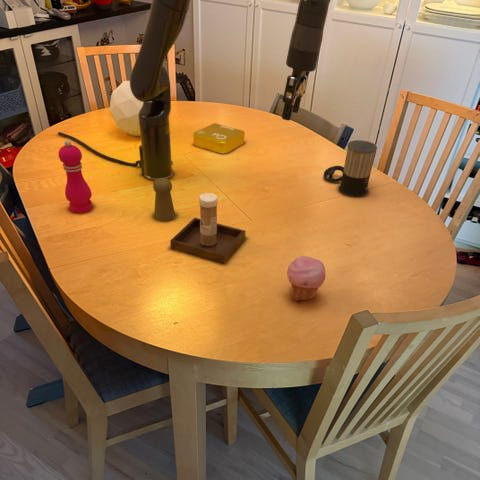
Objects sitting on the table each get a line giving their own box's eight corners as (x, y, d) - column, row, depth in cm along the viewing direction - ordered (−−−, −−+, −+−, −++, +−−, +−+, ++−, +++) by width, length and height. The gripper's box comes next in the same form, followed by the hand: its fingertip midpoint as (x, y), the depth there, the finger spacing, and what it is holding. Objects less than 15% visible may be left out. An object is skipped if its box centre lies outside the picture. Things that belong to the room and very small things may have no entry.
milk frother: (364, 199, 148) (375, 153, 138) (316, 190, 152) (323, 144, 142) (371, 181, 158) (381, 137, 148) (325, 173, 162) (332, 129, 152)
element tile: (246, 142, 180) (246, 129, 177) (224, 155, 170) (224, 141, 167) (214, 133, 186) (214, 121, 183) (191, 145, 176) (191, 132, 173)
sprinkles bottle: (196, 242, 126) (195, 196, 117) (208, 236, 128) (207, 190, 119) (209, 249, 123) (208, 202, 114) (220, 242, 126) (221, 196, 117)
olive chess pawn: (171, 222, 133) (169, 186, 126) (151, 219, 134) (147, 183, 127) (177, 212, 138) (175, 176, 131) (158, 209, 139) (155, 174, 131)
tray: (170, 248, 123) (170, 240, 122) (195, 225, 133) (194, 217, 131) (223, 264, 119) (224, 255, 117) (245, 238, 128) (245, 230, 127)
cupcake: (283, 283, 114) (288, 248, 107) (319, 285, 114) (325, 250, 107) (285, 306, 107) (290, 271, 101) (323, 308, 107) (330, 273, 101)
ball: (131, 147, 190) (120, 96, 188) (175, 133, 184) (165, 80, 181) (105, 137, 172) (93, 81, 170) (153, 122, 166) (141, 63, 164)
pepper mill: (98, 204, 140) (86, 137, 126) (85, 215, 134) (70, 147, 121) (77, 200, 141) (63, 133, 128) (63, 211, 136) (47, 142, 123)
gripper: (297, 40, 119) (283, 106, 130) (282, 46, 109) (269, 118, 119) (325, 46, 118) (309, 113, 128) (313, 53, 107) (297, 126, 118)
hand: (289, 115), depth 124 cm, fingers open, 8 cm apart
